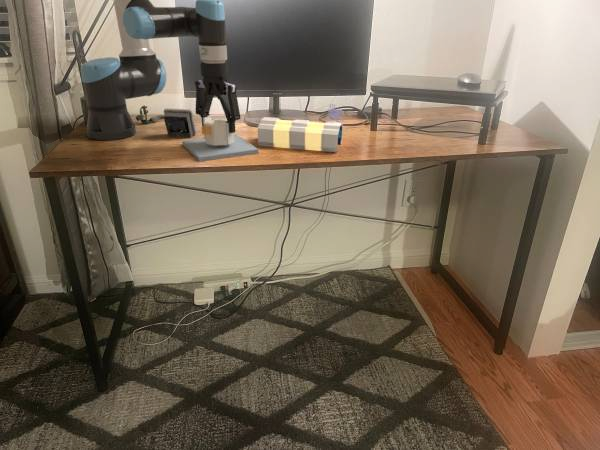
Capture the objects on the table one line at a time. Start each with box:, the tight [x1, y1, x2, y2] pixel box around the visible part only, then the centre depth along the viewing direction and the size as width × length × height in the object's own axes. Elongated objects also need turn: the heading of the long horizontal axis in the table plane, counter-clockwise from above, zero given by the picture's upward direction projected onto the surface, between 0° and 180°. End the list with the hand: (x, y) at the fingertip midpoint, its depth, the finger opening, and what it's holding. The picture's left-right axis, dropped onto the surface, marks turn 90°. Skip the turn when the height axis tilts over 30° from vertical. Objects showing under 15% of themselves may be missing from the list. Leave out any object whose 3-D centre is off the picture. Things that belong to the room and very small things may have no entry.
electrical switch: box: [163, 107, 197, 139], centre depth 145 cm, size 9×5×9 cm, turn 84°
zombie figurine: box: [135, 105, 164, 125], centre depth 162 cm, size 5×7×15 cm
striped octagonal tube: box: [257, 103, 344, 153], centre depth 138 cm, size 25×10×13 cm, turn 77°
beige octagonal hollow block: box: [201, 118, 227, 146], centre depth 132 cm, size 8×10×6 cm
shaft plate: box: [181, 133, 259, 162], centre depth 134 cm, size 18×18×7 cm
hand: (219, 140), depth 135 cm, fingers closed on beige octagonal hollow block, 8 cm apart
